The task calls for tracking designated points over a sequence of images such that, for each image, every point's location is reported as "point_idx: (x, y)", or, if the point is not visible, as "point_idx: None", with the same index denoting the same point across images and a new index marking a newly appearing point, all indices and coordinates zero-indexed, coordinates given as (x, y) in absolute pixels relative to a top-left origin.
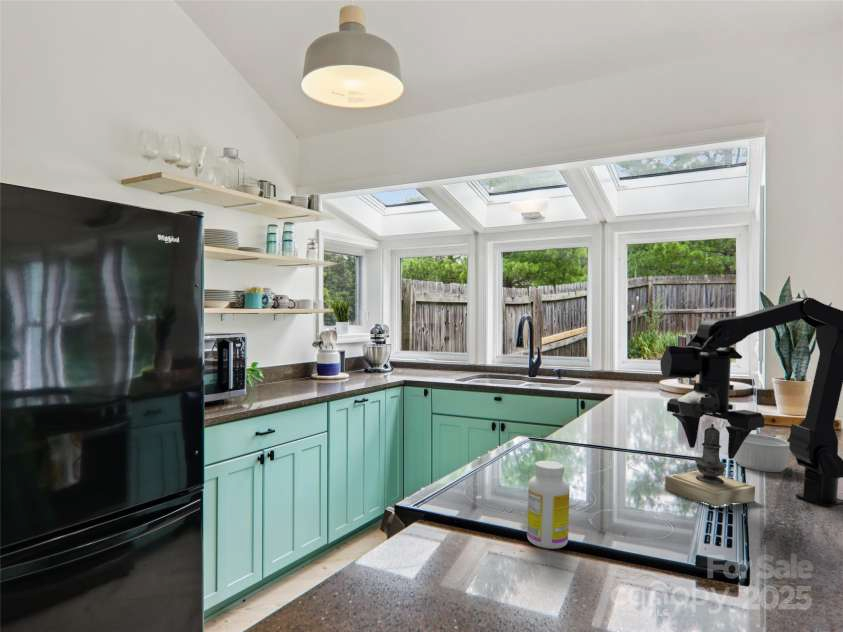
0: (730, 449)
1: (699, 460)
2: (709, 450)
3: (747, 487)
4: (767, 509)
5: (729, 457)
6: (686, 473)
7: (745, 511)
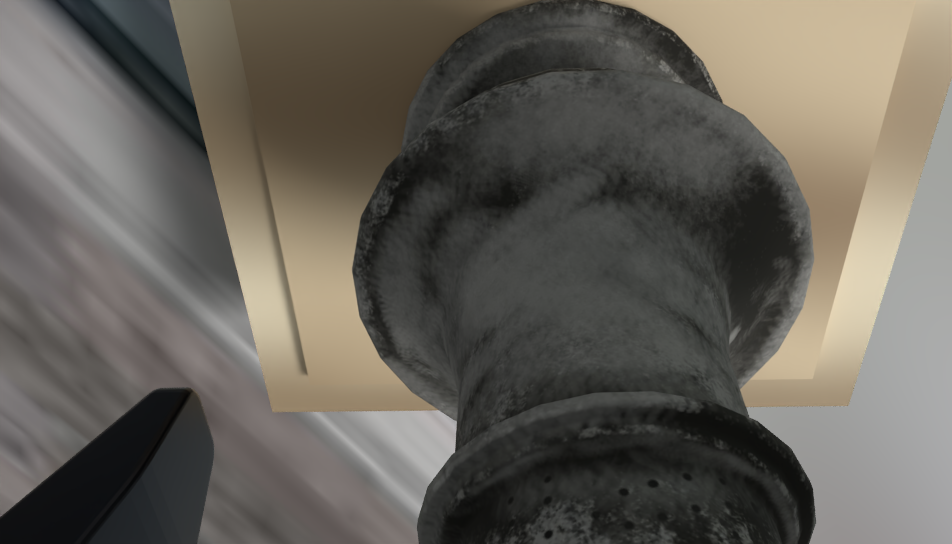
0: (27, 516)
1: (707, 187)
2: (543, 367)
3: (267, 336)
4: (114, 253)
5: (161, 399)
6: (881, 103)
7: (84, 21)
